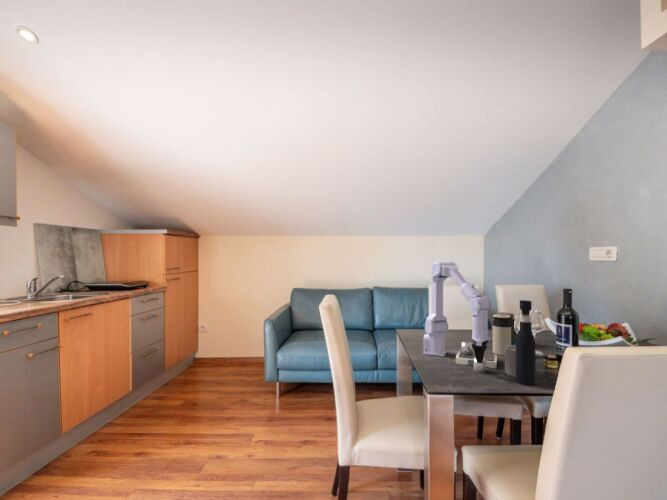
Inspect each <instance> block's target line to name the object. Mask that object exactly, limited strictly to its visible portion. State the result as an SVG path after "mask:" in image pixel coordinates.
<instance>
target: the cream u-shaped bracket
mask: <svg viewBox="0 0 667 500" xmlns="http://www.w3.org/2000/svg"><path fill="white" fill-rule="evenodd" d="M474 357H475V353H474V351H473V355H471V356H467V355H462V354H461V350H458V351H457V353H456V356H455V364H459V365H464V366H465V365H466V366H467V365H468V366H473V367H474ZM483 358H486V368H488V369H497V361H498V360H497V359H498V354H495V353H487V352H486V353H485V352H484V357H483Z"/></svg>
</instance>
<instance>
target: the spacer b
mask: <svg viewBox="0 0 667 500" xmlns="http://www.w3.org/2000/svg"><path fill="white" fill-rule="evenodd" d="M473 372H475V373H481V374H485V373H487V367H486V358H483V362H482V363H478V362H476V357H474V366H473Z"/></svg>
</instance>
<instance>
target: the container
mask: <svg viewBox="0 0 667 500" xmlns="http://www.w3.org/2000/svg"><path fill="white" fill-rule="evenodd" d="M497 314H502V315H509V316H510V322H511V345H516V339H517V335H518V334H517V333H516V332H515V331H514V321H515V318H516V317H515V313H513V312H505V311H504V312H503V311H502V312H498V313H497Z"/></svg>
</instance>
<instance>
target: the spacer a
mask: <svg viewBox="0 0 667 500" xmlns="http://www.w3.org/2000/svg"><path fill="white" fill-rule="evenodd" d="M472 344H474V342H471V341H467V340H466V341H460V351H461V354H462V355H467V356H471V355H473V352H474V350H473V348H472Z"/></svg>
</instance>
